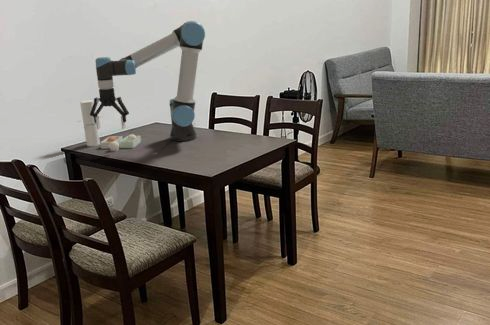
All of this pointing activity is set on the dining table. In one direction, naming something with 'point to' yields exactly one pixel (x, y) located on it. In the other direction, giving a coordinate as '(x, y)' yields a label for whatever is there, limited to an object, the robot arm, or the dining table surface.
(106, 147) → the tray offwhite
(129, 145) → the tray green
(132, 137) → the ivory ball
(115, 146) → the ivory ball
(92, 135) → the cylindrical container
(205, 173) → the dining table surface
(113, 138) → the terracotta ball
